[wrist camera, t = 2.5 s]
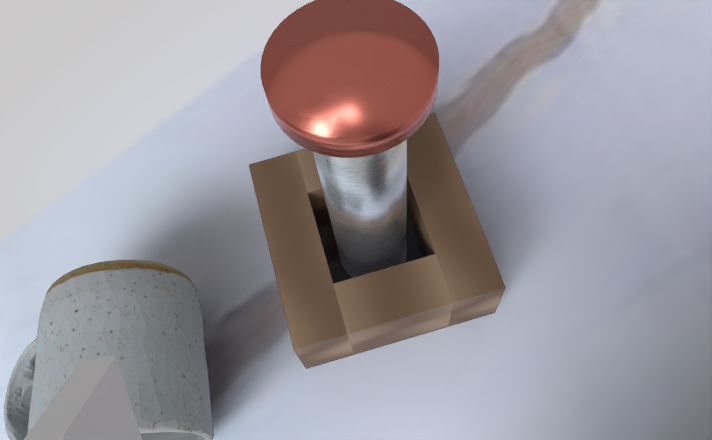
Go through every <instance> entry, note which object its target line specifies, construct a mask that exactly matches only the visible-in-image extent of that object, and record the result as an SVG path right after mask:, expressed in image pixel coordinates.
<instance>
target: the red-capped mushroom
mask: <svg viewBox="0 0 712 440" xmlns="http://www.w3.org/2000/svg"><path fill="white" fill-rule="evenodd" d="M438 71H439V54H438V48H437V44H436V41H435V38H434V36H433V34H432V32H431V31H430V29H429V27H428V26H427V25H426V23H425V22H424V21H423V20H422V19H421V18H420V17H419V16H418V15H417V14H416V13H415V12H413V11H412V10H411V9H409V8H408V7H406V6H404V5H403V4H401V3H399V2H396V1H394V0H315V1H313V2H311V3H308V4H306V5H304V6H303V7H301V8H299V9H297V10H296V11H295V12H293V13H292V14H290V15H289V16H288V17H287V18H286V19H284V20H283V21H282V22H281V23H280V24H279V26H278V27H277V28H276V29H275V30H274V32H273V33H272V35H271V36H270V38H269V40H268V42H267V44H266V46H265V48H264V52H263V55H262V60H261V79H262V85H263V88H264V91H265V94H266V97H267V100H268V103H269V106H270V108H271V111H272V114H273V116H274V118H275V120H276V122H277V124H278V125H279V126H280V128H281V129H282V130H283V132H284V133H285V134H286V135H288V136H289V137H290V138H291V139H292V140H293V141H295V142H296V143H297V144H299V145H301V146H303V147H304V148H306V149H308V150H311V151H313V154H314V158H315V162H316V165H317V169H318V173H319V177H320V181H321V185H322V189H323V193H324V197H325V201H326V204H327V208H328V212H329V216H330V220H331V224H332V228H333V232H334V236H335V239H336V243H337V247H338V251H339V255H340V259H341V263H342V265H343V268H344V269H345V271H346V272H347V274H348V275H349V276H350V277H352V278H355V277H358V276H361V275H365V274H368V273H372V272H375V271H379V270H382V269H386V268H389V267H392V266H396V265H399V264H403V263H405V262H406V257H407V139H408V138H409V137H410V136H412V135H413V134H414V133H415V132H416V131H417V130H418V129H419V128H420V127H421V126H422V125H423V123H424V122H425V120H426V119H427V117H428V116H429V114H430V112H431V110H432V108H433V105H434V102H435V99H436V94H437V85H438Z"/></svg>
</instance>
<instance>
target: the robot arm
mask: <svg viewBox="0 0 712 440" xmlns="http://www.w3.org/2000/svg"><path fill="white" fill-rule="evenodd" d="M24 440H142V437H141V434H140V431H139V428H138V424H137V421H136V418H135V415H134V412H133V408H132V405H131V402H130V399H129V396H128V392H127V389H126V386H125V383H124V379H123V376H122V373H121V370H120V367H119V363H118V360H117V357H116V355H115V356H107V357H99V358H91V359H83V360H82V361H81V362H80V364H79V365H78V366H77V368H76V369H75V370H74V372H73V373H72V374H71V376H70V377H69V379H68V380H67V381H66V383H65V384H64V385H63V387H62V388H61V389H60V391H59V392H58V394H57V395H56V396H55V398H54V399H53V400H52V402H51V403H50V404H49V406H48V407H47V409H46V410H45V411H44V413H43V414H42V415H41V417H40V418H39V419H38V421H37V422H36V423H35V425H34V426H33V428H32V429H31V430H30V432H29V433H28V434H27V436H26V437H25V438H24Z"/></svg>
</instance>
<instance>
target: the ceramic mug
mask: <svg viewBox="0 0 712 440" xmlns="http://www.w3.org/2000/svg"><path fill="white" fill-rule="evenodd" d="M115 355H116V357H117V360H118V363H119V367H120V370H121V373H122V376H123V379H124V383H125V386H126V389H127V392H128V396H129V399H130V402H131V405H132V408H133V412H134V415H135V418H136V421H137V424H138V428H139V431H140V434H141V437H142V440H212V439H213V435H214V432H213V422H212V413H211V404H210V392H209V380H208V369H207V362H206V354H205V344H204V329H203V317H202V310H201V306H200V303H199V299H198V295H197V291H196V289H195V287H194V285H193V283H192V282H191V280H190V279H189V278H188V277H187V276H185V275H184V274H183V273H182V272H180V271H178V270H176V269H174V268H172V267H170V266H166V265H163V264H160V263H156V262H150V261H140V260H116V261H105V262H99V263H95V264H91V265H87V266H83V267H80V268H78V269H75V270H73V271H71V272H69V273H67V274H65V275H63V276H62V277H61V278H59V279H58V280H57V281H56V282H54V283H53V284H52V286H51V287H50V288H49V290H48V291H47V294H46V297H45V299H44V302H43V306H42V309H41V313H40V318H39V325H38V332H37V339H35V340H34V341H33V342H32V343H31V344H30V345H29V346H28V347H27V348H26V349H25V350H24V352H23V354H22V355H21V357H20V358H19V360H18V362H17V364H16V366H15V368H14V370H13V372H12V375H11V378H10V381H9V384H8V388H7V393H6V398H5V405H4V420H5V427H6V431H7V434H8V437H9V438H10V440H24V438H25V437H26V436H27V434H28V433H29V432H30V430H31V429H32V428H33V426H34V425H35V423H36V422H37V421H38V419H39V418H40V417H41V415H42V414H43V413H44V411H45V410H46V409H47V407H48V406H49V404H50V403H51V402H52V400H53V399H54V398H55V396H56V395H57V394H58V392H59V391H60V389H61V388H62V387H63V385H64V384H65V383H66V381H67V380H68V379H69V377H70V376H71V374H72V373H73V372H74V370H75V369H76V368H77V366H78V365H79V364H80V362H81V361H82V360H83V359H91V358H99V357H107V356H115Z"/></svg>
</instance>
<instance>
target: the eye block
mask: <svg viewBox="0 0 712 440" xmlns="http://www.w3.org/2000/svg"><path fill="white" fill-rule="evenodd" d="M249 168H250V172H251V176H252V180H253V184H254V188H255V192H256V196H257V201H258V205H259V209H260V213H261V217H262V221H263V225H264V230H265V234H266V238H267V242H268V246H269V250H270V254H271V258H272V263H273V267H274V271H275V275H276V279H277V283H278V287H279V291H280V296H281V300H282V304H283V308H284V312H285V316H286V320H287V325H288V329H289V333H290V337H291V341H292V345H293V349H294V351H295V353H296V354H297V356H298V357H299V359H300V360H301V362H302V363H303V365H304V366H305V368H306V369H307V368H310V367H314V366H317V365H320V364H324V363H327V362H331V361H334V360H337V359H341V358H344V357H347V356H351V355H354V354H357V353H361V352H364V351H368V350H371V349H374V348H378V347H381V346H384V345H388V344H391V343H394V342H398V341H401V340H404V339H408V338H411V337H415V336H418V335H421V334H425V333H428V332H431V331H435V330H438V329H441V328H445V327H448V326H451V325H455V324H458V323H462V322H465V321H468V320H472V319H475V318H478V317H482V316H485V315H488V314H492V313H495V311H496V308H497V306H498V304H499V301H500V299H501V297H502V294H503V292H504V290H505V285H504V283H503V280H502V278H501V275H500V273H499V270H498V268H497V265H496V263H495V260H494V258H493V255H492V253H491V251H490V248H489V246H488V243H487V241H486V238H485V236H484V233H483V231H482V228H481V226H480V223H479V221H478V218H477V216H476V213H475V211H474V209H473V206H472V204H471V201H470V199H469V196H468V194H467V191H466V189H465V186H464V184H463V181H462V179H461V176H460V174H459V171H458V169H457V167H456V164H455V162H454V159H453V157H452V154H451V152H450V149H449V147H448V144H447V142H446V139H445V137H444V134H443V132H442V129H441V127H440V125H439V122H438V120H437V117H436V115H435V113H432V114H429V116H428V117H427V119H426V120H425V122H424V123H423V125H422V126H421V127H420V128H419V129H418V130H417V131H416V132H415V133H414V134H413V135H412V136H410V137H409V138H408V139H407V212H408V215H409V217H410V220H411V223H412V226H413V229H414V232H415V234H416V237H417V240H418V243H419V246H420V249H421V251H422V254H423V258H420V259H416V260H413V261H410V262H406V263H403V264H399V265H396V266H392V267H389V268H386V269H382V270H379V271H375V272H372V273H368V274H365V275H361V276H358V277H355V278H351V279H348V280H344V281H341V282H337V283H334V282H333V279H332V275H331V272H330V268H329V265H328V261H327V257H326V254H325V250H324V247H323V243H322V240H321V236H320V233H319V229H318V225H321V224H325V223H328V222H331V220H330V216H329V212H328V208H327V204H326V201H325V197H324V193H323V189H322V185H321V181H320V177H319V173H318V169H317V165H316V162H315V158H314V154H313V151H311V150H308V149H303V150H300V151H296V152H293V153H289V154H285V155H282V156H278V157H275V158H271V159H268V160H264V161H260V162H257V163H253V164H250V165H249Z"/></svg>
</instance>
